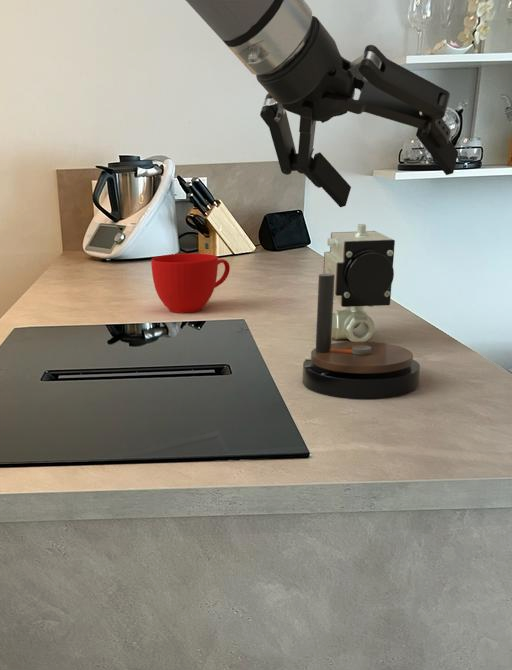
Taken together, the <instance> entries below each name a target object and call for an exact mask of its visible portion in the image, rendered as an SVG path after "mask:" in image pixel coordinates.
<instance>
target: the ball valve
mask: <svg viewBox="0 0 512 670" xmlns="http://www.w3.org/2000/svg"><path fill="white" fill-rule="evenodd" d="M326 242H327V243H326V244H327V246H328V247H329V250H330V251H324V254H323V272H322V274H334V275H335V278H334V298H333V299H335V301H337V302H338V304H339V305H340V307H342V308H344V309H342V310H341V309H338V310H335V312H333V318H332V338H334V340H349V342H368V340H370V339H371V338H372V336H373V335H374V331H375V323H374V320H373V319H372V318H371V316H370V315H369V314H367V312H366V311H364V309H365V308H364V307H369V308H373V307H378V306H380V307H381V306H382V307H383V306H391V297H392V285H393V281H394V277H395V270H394V257H395V247H396V246H395V245H396V243H395V242H396V240H395V239H393V238H392V237H389V236H387V235H385V234H383V233H381V232H378V231H376V230H367V225H366V224H365V223H358V224H357V231H337V232H336V231H335V232H334V231H331V233H330V237H327V241H326Z"/></svg>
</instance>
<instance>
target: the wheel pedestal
mask: <svg viewBox="0 0 512 670" xmlns="http://www.w3.org/2000/svg"><path fill="white" fill-rule="evenodd" d="M420 371H421V365H420V363H419V362H418V361H417V360H415V359H413V361H412V364H411V365H410V366H409V367H407V368H405V369H402V370H398V371H393V372H386V373H371V374H360V373H345V372H337V371H332V370H327V369H323V368H321V367H318V366H316V365H314V364H313V363H312V362H311V356H306V357H304V361H303V363H302V385H303V386H304V387H305V388H306V389H308V390H310V391H312V392H315V393H318V394H322V395H325V396H329V397H335V398H341V399H342V398H343V399H350V400H351V399H352V400H353V399H354V400H377V399H379V400H380V399H390V398H396V397H400V396H403V395H404V396H405V395H407V394H410V393H413V392H414V391H416V390H417V389H418V387H419V382H420Z"/></svg>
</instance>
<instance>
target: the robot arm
mask: <svg viewBox="0 0 512 670" xmlns="http://www.w3.org/2000/svg"><path fill="white" fill-rule="evenodd" d="M185 2H186V3H187V4H188V5H189V6H190V7H191V8H192V9H193V10H194V12H196V13H197V14H198V16H199V17H200V18H201V19H202V20H203V21H204V22H205V24H206V25H208V27H210V29H211V30H212V31H213V33H215V34H216V36H218V38H219V39H220V40H222V42H223V43H224V44H225V45H226V46H227V48H228V49H229V50H230V51H231V52H232V53H233V54H234V55H235V56H236V58H237V59H238V60H239V61H240V62H241V63H242V64H243V65H244V67H245V68H246V69H247V71H249V72H250V73H251V74H252V75H255V77H256V80H257V82H258V83H259V84H260V86H262V87H263V89H264V90H265V91H266V92H267V94H266V95H265V97H264V101H263V104H262V107H261V109H260V113H259V115H260V118H261V119H262V121H263V122H264V123H265V124H266V126H267V127H268V129H269V132H270V136H271V139H272V143H273V146H274V150H275V154H276V157H277V161H278V166H279V168H280V171H281V174H284V175H286V176H289V175H291V174H292V172H295V171H296V172H297V173H299V174H301V175H302V174H303V175H304V176H305V177H306V178H307V179H308V180H309V181H310V182H311V183H312V184H313V185H314V186H315V187H317V188H318V189H320V188H321V189H322V190H323V191H324V192H325V193H326V194H327V196H329V197H330V198H331V200H332V201H334V203H335V204H336V205H337V206H338V207H340V208H343V207H346V206H347V203H348V199H349V196H350V193H351V189H352V186H351V185H350V184H349V183H348V182H347V181H346V180H345V178H344V177H343V176H342V175H341V174H340V172H339V171H337V170H336V168H335V167H334V165H332V164H331V163H330V162H329V160H327V158H326V157H325V156H324V155H323V154H322V153H321V152H320V151H319V152H317V153H314V151H315V148H314V143H315V135H316V127H317V126H316V125H317V122H320V123H321V124H323V123H326V122H328V121H330V120H331V119H332V118H334V117H335V118H336V117H341V116H344V115H345V114H347V113H352V114H355V115H361V114H362V113H366V114H370V115H374V116H376V117H380V118H383V119H386V120H390V121H393V122H395V123H399V124H402V125H407V126H409V127H413V128H416V129H417V130H416V133H415V136H416V137H417V139H418V141H419V142H420V143H421V144H422V146H424V148H425V149H426V151H427V152H428V153H429V155H430V156H431V158H432V159H433V160H434V161H435V162H436V164H437V165H438V167H440V170H441V171H442V172H443V173H444V175H445V176H449V175H452V174H454V172H455V168H456V164H457V160H458V156H459V150H458V149H457V148H456V147H455V145H454V143H452V141H451V140H450V138H451V133H452V131H451V128H450V127H449V126H448V124H447V123H446V121H445V120H444V117H445V116H446V112H447V108H448V105H449V101H450V97H451V92H449V91H448V90H446V89H444V88H443V87H441V86H439V85H437V84H435V83H433V82H431V81H430V80H428V79H425V78H424V77H422V76H420V75H419V74H417V73H414V72H413V71H411V70H409V69H407V68H405V67H404V66H402V65H400V64H398V63H396V62H394V61H393V60H390V59H389V58H387V57H386V56H385V55H384V53H382V52H381V50H380V49H379V48H378V47H377V46H376V45H374V44H368V45H366V46H365V48H364V51H363V54H362V55H361V56H359V57H358V58H356V59H354V60H353V61H351V60H348V59H346V58H345V57H344V56H342V55H341V53H340V51H339V48H338V45H337V43H336V41H335V39H334V38H333V37H332V35H331V34H330V32H329V31H328V30H327V29H326V28H325V26H324V25H323V23H322V22H321V21H320V20H319V18H318V17H317V16H315V15H313V11H312V9H311V7H310V6H309V4H308V3H307V2H306V1H305V0H185ZM356 90H358V91H359V92H360V94H359V96H358V99H354V98H355V95H356ZM287 112H289V113H292V114H294V115H297V116H299V126H298V128H299V129H298V132H299V137H298V147H297V148H298V150H297V149H296V146H295V142H294V138H293V134H292V130H291V126H290V121H289V118H288V113H287ZM313 153H314V155H313Z"/></svg>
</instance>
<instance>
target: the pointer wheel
mask: <svg viewBox="0 0 512 670" xmlns="http://www.w3.org/2000/svg"><path fill="white" fill-rule="evenodd" d="M334 278H335V275H334V274H323V273H320V274H318V281H317V283H318V284H317V285H318V286H317V306H316V307H317V308H316V313H317V314H316V330H315V331H316V333H315V334H316V335H315V348H313V349H312V350H311V352H310V357H311V362H312V363H313V364H314V365H316V366H318V367H321V368H323V369H327V370H332V371H337V372H345V373H360V374H371V373H386V372H393V371H398V370H402V369H405V368H407V367H409V366H410V365H411V364H412V361H413V360H414V354H413V352H412V351H411V350H410V349H408V348H405V347H403V346H400V345H395V344H392V343H385V342H375V341H365V342H352V341H343V342H342V341H341V342H333V343H332V338H333V337H332V318H333V313H334V299H335V298H334Z"/></svg>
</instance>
